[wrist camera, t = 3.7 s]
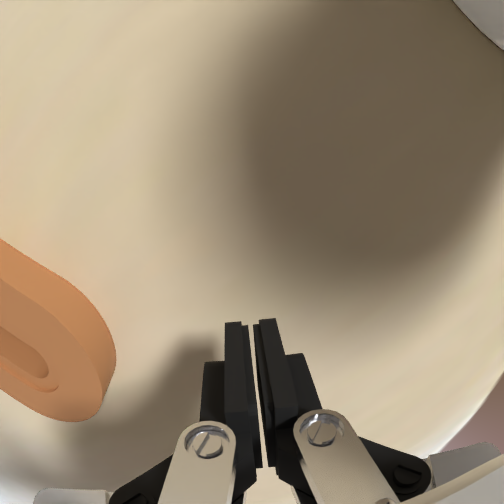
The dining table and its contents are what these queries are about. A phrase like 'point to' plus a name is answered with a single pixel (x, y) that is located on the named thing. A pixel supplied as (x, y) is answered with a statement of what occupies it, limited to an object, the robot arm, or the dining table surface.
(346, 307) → the dining table surface
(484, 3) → the utensil holder
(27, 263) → the bracket
